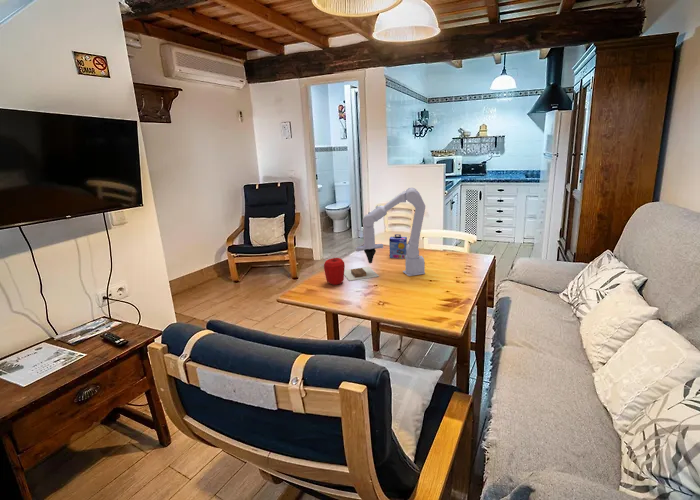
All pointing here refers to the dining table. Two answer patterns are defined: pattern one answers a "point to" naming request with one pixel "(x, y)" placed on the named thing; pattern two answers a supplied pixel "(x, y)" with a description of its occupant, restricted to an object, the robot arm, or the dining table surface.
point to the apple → (334, 270)
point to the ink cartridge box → (398, 246)
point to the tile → (358, 272)
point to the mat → (369, 273)
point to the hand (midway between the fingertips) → (370, 262)
